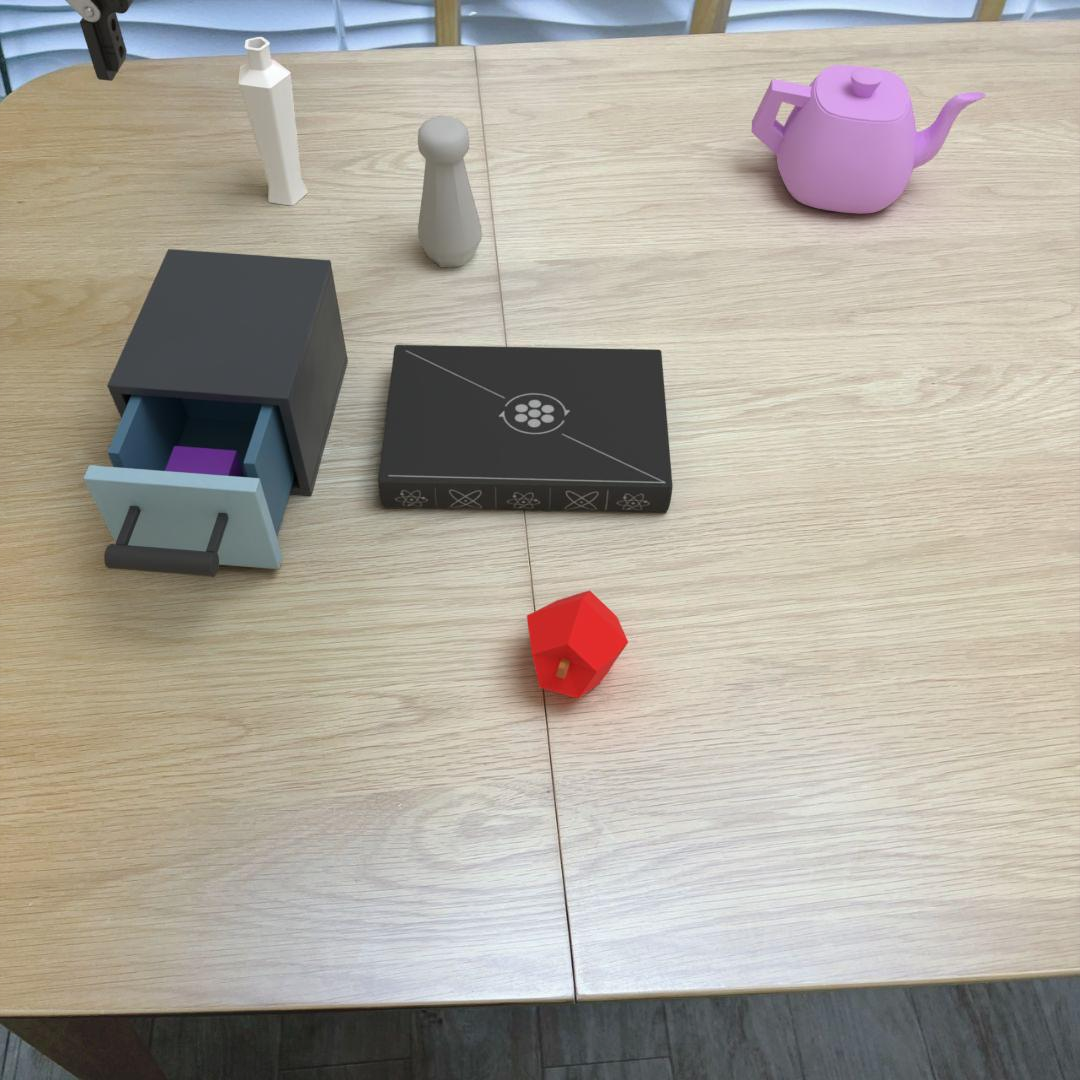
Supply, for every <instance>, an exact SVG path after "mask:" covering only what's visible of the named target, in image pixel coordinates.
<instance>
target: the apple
mask: <svg viewBox="0 0 1080 1080" xmlns="http://www.w3.org/2000/svg"><path fill="white" fill-rule="evenodd" d="M526 620H527V627H528V633H529V635H528V636H529V643H530V649H531V656H532V660H533V666H534V668H535V669H534V670H535V673H536V677H537V678H536V679H537V682H538V686H539V688H540V689H543V690H546V691H550V692H555V693H558V694H561V695H565V696H569V697H572V698H576V699H581V698H582V697H583V696H584V695H587V693H589V692H591V691H592V690H593V689H595V688H596V687H597V686H599V685H600V684H601V682H602V681H603V680H604V679H605V677H606V676H607V674H608V673H609V671H610V670H611V669H612V667H613V666H614V664H615V662H616V661H617V659H618V658H619V657H620V656H621V654H622V652H623V651H624V649H625V648H626V646H627V645H628V644H629V641H628V638H627V635H626V634H625V631H624V629H623V627H622V624H621V622H620V619H619V618H618V616H617V615H616V614H615V613H614V612H613V611H612V610H611V609H610V608H609V607H608V606H607V605H606V604H605V603H604V602H603V601H602V600H601V599H599V598H598V596H597V595H595V594H594V593H593V592H592V590H590V589H589V590H586V591H582V592H579V593H577V594H573V595H570V596H568V597H564V598H561V599H558V600H555V601H553V602H551V603H548V604H546V605H544V606H543V607H540V608H539V609H537V610H535V611H533V612H531V613H529V614H527V615H526Z"/></svg>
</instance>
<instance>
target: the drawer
mask: <svg viewBox="0 0 1080 1080" xmlns="http://www.w3.org/2000/svg"><path fill="white" fill-rule="evenodd" d="M174 446H184V447H196V448H209V449H221V450H234V451H237V454H238V458H239V461H240V464H241V467H242V470H243V473H244V477H236V476H223V475H210V474H197V473H184V472H171V471H165V469H166V466H167V464H168V461H169V458H170V456H171V453H172V451H173V448H174ZM106 454H107V456H108V458H109V460H110V462H111V465H112V466H106V465H105V466H104V465H93V464H92V465H90V464H89V465H88V467H87V469H86V472H85V474H84V475H83V481H84V483H85V485H86V486H87V489H88V491H89V492H90V494H91V497H92V500H93V501H94V503H95V505H96V507H97V509H98V511H99V513H100V515H101V516H102V518H103V521H104V522H105V525H106V526H107V529H108V531H109V533H110V535H111V537H112V539H113V541H114V542H115V543H109V544H108V545H107V546H106V548H105V550H104V556H103V559H104V565H105V567H106V568H107V569H109V570H123V571H134V572H135V571H137V572H138V571H139V572H150V573H159V574H160V573H162V574H174V575H186V576H197V577H208V578H209V577H211V578H214V577H216V576H217V574H218V571H219V568H220V565H223V566H231V567H232V566H234V567H246V568H260V569H270V570H279V569H280V568H281V563H282V559H283V557H284V556H283V552H282V550H281V546H280V542H279V540H278V535H279V532H280V528H281V526H282V521H283V518H284V514H285V511H286V507H287V504H288V501H289V498H290V497H289V496H290V495H291V494H290V490H291V487H292V483H293V480H294V476H295V473H296V471H295V467H294V463H293V459H292V455H291V451H290V447H289V443H288V439H287V435H286V431H285V428H284V424H283V420H282V416H281V412H280V408H279V406H278V405H265V404H251V403H238V402H224V401H211V400H197V399H184V398H171V397H157V396H144V395H131V397H130V400H129V402H128V404H127V407H126V409H125V411H124V414H123V416H122V418H121V417H120V421H119V424H118V425H117V428H116V431H115V433H114V435H113V437H112V440H111V442H110V444H109V446H108V449H107V452H106Z"/></svg>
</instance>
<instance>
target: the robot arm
mask: <svg viewBox="0 0 1080 1080" xmlns="http://www.w3.org/2000/svg"><path fill="white" fill-rule="evenodd" d="M64 1H65V2H66V3H67V4H68V5H69V6H70V8H72V9H73V10H74V11H75V12H76V13H77V14H78V15H79V16H80V17H81V19H80V21H79V25H80V27H81V30H82V34H83V38H84V40H85V44H86V47H87V50H88V53H89V56H90V60H91V62H92V66H93V69H94V71H95V76H96V78H97V79H98V80H99V81H111V82H112V81H113V80H114V79H115V77H116V76H117V74H118V72H119V71H120V69H121V68H122V66H123V64H124V63H125V61H126V59H127V52H128V50H127V47H126V44H125V41H124V36H123V33H122V29H121V26H120V23H119V19H118V15H117V14H120V15H121V14H125V13H127V11H128V10H129V8H130V7H131V5H132V4H133V3H134V1H135V0H64Z"/></svg>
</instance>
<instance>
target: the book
mask: <svg viewBox="0 0 1080 1080" xmlns="http://www.w3.org/2000/svg"><path fill="white" fill-rule="evenodd" d="M392 355H393V356H392V364H391V371H390V372H391V373H390V379H389V380H390V381H389V387H388V395H387V396H388V397H387V404H386V410H385V411H386V413H385V419H384V429H383V434H382V435H383V436H382V443H381V445H382V446H381V451H380V460H379V468H378V476H377V483H378V485H377V487H378V495H379V499H380V504H381V507H382V508H383V509H428V510H429V509H431V510H432V509H435V510H437V509H439V510H440V509H441V510H442V509H443V510H488V511H489V510H492V511H494V510H496V511H550V512H551V511H553V512H554V511H555V512H614V513H615V512H616V513H617V512H618V513H626V512H627V513H667V512H668V511H669V510H670V505H671V501H672V496H673V495H672V494H673V487H674V486H673V476H672V475H673V474H672V464H671V450H670V438H669V427H668V415H667V414H668V413H667V403H666V390H665V377H664V368H663V367H664V366H663V357H662V356H663V354H662V350H661V349H656V348H655V349H654V348H652V349H651V348H649V349H646V348H597V347H595V348H593V347H592V348H591V347H545V346H544V347H541V346H539V347H538V346H536V347H535V346H487V345H486V346H485V345H484V346H480V345H431V344H430V345H429V344H428V345H427V344H395V345H394V349H393V354H392Z"/></svg>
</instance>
